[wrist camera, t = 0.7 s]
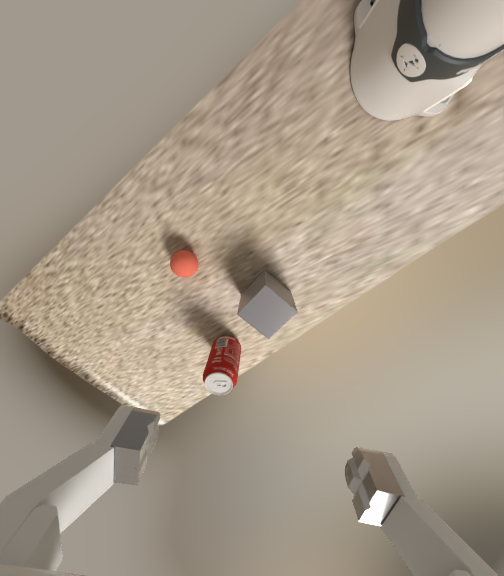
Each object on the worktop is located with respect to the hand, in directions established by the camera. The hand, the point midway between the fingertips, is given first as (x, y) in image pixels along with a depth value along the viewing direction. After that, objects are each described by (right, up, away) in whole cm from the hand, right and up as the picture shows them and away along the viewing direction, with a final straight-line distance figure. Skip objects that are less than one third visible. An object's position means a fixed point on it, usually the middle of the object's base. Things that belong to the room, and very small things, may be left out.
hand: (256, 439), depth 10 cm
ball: (-13, +11, +35) cm, 38 cm away
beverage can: (-6, -7, +44) cm, 45 cm away
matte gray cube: (+3, +5, +39) cm, 39 cm away
